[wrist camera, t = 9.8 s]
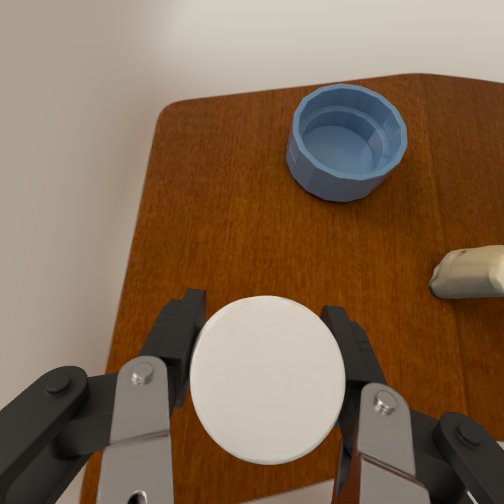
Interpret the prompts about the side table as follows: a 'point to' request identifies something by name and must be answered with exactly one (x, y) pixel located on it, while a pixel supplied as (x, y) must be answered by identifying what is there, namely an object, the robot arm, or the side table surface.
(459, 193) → the side table surface
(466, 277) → the cream rounded block
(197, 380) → the pill bottle
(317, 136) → the bowl
